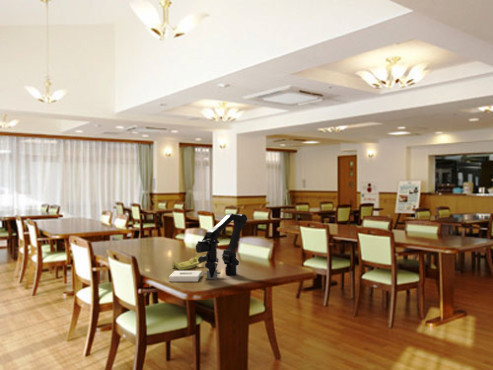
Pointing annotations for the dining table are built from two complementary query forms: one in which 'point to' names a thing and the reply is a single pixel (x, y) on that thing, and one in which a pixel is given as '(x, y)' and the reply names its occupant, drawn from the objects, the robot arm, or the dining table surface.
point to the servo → (213, 275)
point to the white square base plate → (185, 276)
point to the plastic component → (186, 264)
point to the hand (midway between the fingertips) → (212, 276)
